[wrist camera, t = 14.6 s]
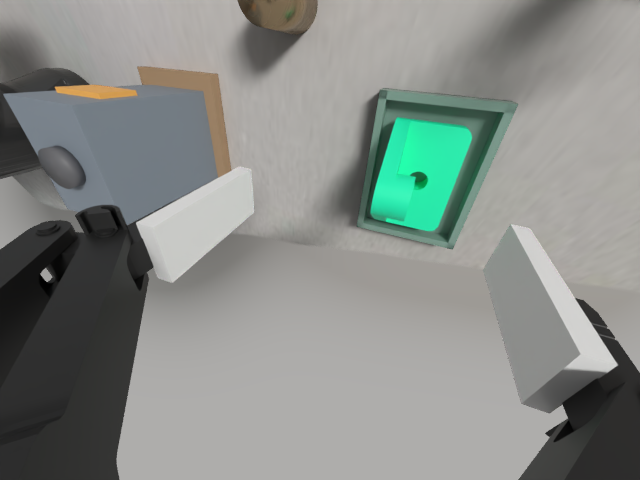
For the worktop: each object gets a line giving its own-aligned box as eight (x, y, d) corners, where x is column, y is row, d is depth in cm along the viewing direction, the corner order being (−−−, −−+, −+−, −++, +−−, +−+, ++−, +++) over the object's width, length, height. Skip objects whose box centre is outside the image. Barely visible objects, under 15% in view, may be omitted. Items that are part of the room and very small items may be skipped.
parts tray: (360, 218, 38) (356, 226, 36) (383, 88, 28) (380, 89, 26) (451, 239, 35) (452, 249, 33) (511, 101, 25) (518, 104, 23)
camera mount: (435, 223, 34) (436, 271, 26) (377, 210, 36) (362, 252, 28) (472, 124, 27) (489, 149, 19) (398, 115, 29) (385, 134, 21)
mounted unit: (175, 174, 46) (56, 225, 31) (146, 66, 37) (-42, 66, 22) (233, 187, 43) (131, 250, 28) (217, 73, 34) (55, 79, 19)
